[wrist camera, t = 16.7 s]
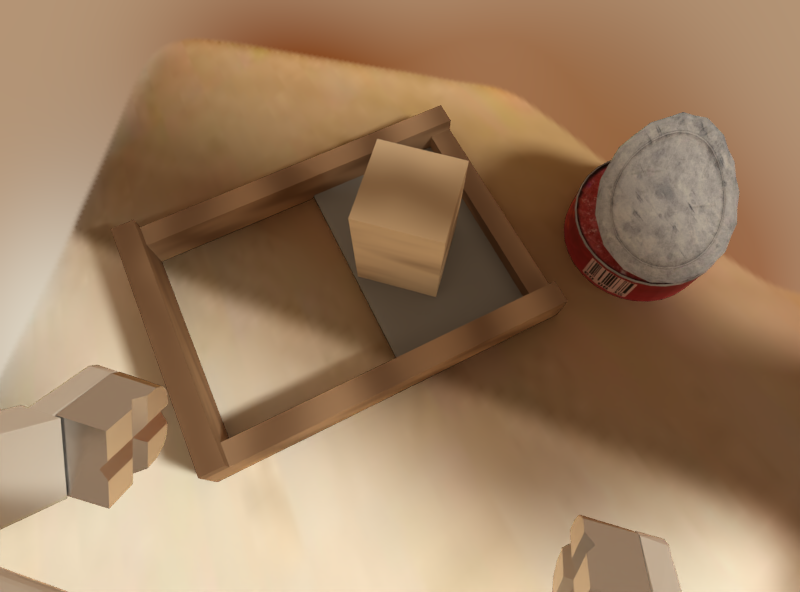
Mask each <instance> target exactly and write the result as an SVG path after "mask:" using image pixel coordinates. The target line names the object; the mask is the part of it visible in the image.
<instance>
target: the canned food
mask: <svg viewBox="0 0 800 592" xmlns="http://www.w3.org/2000/svg"><path fill="white" fill-rule="evenodd" d="M738 198H739V188H738V184H737V180H736V173H735V163H734V160H733V158H732V156H731V154H730V152H729V150H728V148H727V144H726V141H725V137H724V135H723V134H722V133H721V132H720V131H719V129H718V128H717V127H716V126H715V125H714V124H713V123H712V122H711V121H710V120H709V119H708V118H705V117H700V116H694V115H691V114H687V113H684V112H682V113H679V114H676V115H673V116H670V117H667V118H664V119H661V120H658V121H654V122H651V123H650V124H648V125H647V126H646V127H644V128H643V129H642V130H640V131H639V132H638V133H636V134H635V135H634V136H632V137H631V138H630V139H629V140H628V141H626V142H625V143H624V144H623V145H622V146H620V147H619V148H618V150H617V152H616V153H615V155H614V157H613V158H612V160H610V161H608V162H606V163H604V164H602V165H601V166H599V167H597V168H596V169H595V170H594V171H593V172H591V173H590V174H589V175H588V176H587V178H586V179H585V180H584V182H583V183H582V185H581V187H580V189H579V191H578V193H577V195H576V196H575V198H574V200H573V202H572V204H571V205H570V207H569V210H568V212H567V215H566V218H565V224H564V237H565V243H566V246H567V250H568V253H569V255H570V257H571V259H572V261H573V263H574V264H575V266H576V267H577V268H578V269H579V271H580V272H581V273H582V275H583V276H585V277H586V278H587V279H588V280H589V281H590V282H591V283H592V284H594V285H595V286H597V287H598V288H600V289H602V290H603V291H605V292H607V293H609V294H612V295H614V296H616V297H619V298H623V299H627V300H632V301H647V302H648V301H655V300H662V299H665V298H667V297H670V296H673V295H675V294H677V293H678V292H680V291H681V290H683V289H684V288H686V287H687V286H688V285H689V284H691V283H692V282H693V281H694V280H696V279H697V278H698V277H699V276H701V275H702V274H704V273H705V272H706V271H707V270H708V269H709V268H710V267H711V266H712V265H713V264H714V263H715V262H716V260H717V259H718V258H719V257H720V256H721V255H722V254H723V253H725V251H726V249H727V245H728V243H729V240H730V237H731V235H732V233H733V231H734V229H735V226H736V224H737V205H738Z"/></svg>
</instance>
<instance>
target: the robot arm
mask: <svg viewBox="0 0 800 592" xmlns="http://www.w3.org/2000/svg"><path fill="white" fill-rule="evenodd" d="M167 405H168V392H167V390H166V389H165V388H164V387H163V386H160V385H157V384H154V383H151V382H148V381H145V380H142V379H139V378H137V377H134V376H131V375H128V374H125V373H122V372H117V371H114V370H111V369H108V368H105V367H102V366H99V365H92V366H88V367H87V368H85V369H84V370H82V371H81V372H79V373H78V374H76V375H75V376H73V377H72V378H70V379H69V380H68V381H66V382H65V383H63V384H62V385H60V386H59V387H57V388H56V389H54V390H53V391H52V392H50V393H49V394H47V395H46V396H44V397H43V398H41V399H40V400H38V401H37V402H36V403H34V404H33V405H31V406H30V407H25V406H22V405H20V406H16V407H12V408H8V409H4V410H0V529H3V528H5V527H7V526H9V525H11V524H13V523H15V522H18V521H20V520H22V519H24V518H26V517H28V516H30V515H33V514H35V513H37V512H39V511H41V510H43V509H45V508H47V507H50V506H52V505H54V504H56V503H58V502H60V501H62V500H65V499H67V496H70V497H73V498H76V499H80V500H83V501H86V502H89V503H93V504H96V505H99V506H102V507H106V508H110V507H111V506H112V505H113V504H114V503H115V502H116V501H117V500H118V499H119V498H120V497H121V496H122V495H123V494H124V493H125V492H126V491H127V490H128V488H129V487H130V486H131V485H132V484H133V473H136V472H139V471H141V470H144V469H147V468H148V467H149V466H150V465H151V464H152V463H153V462H154V461H155V459H156V458H157V457H158V455H159V453H160V451H161V449H162V447H163V446H164V443H165V439H166V435H167V424H168V423H167V421H166V419H165V418H164V416H163V414H162V413H161V411H162V410H163V409H164V408H165V407H166V406H167ZM570 538H571V543H570V544H568V545H566V546H564V547H562V549H561V552H560V554H559V557H558V559H557V563H556V567H555V571H554V576H553V587H552V592H682V591H681V587H680V584H679V580H678V577H677V573H676V569H675V566H674V562H673V559H672V555H671V552H670V548H669V544H668V543H667V542H666V541H665V539H662V538H658V537H655V536H651V535H648V534H644V533H641V532H637V531H635V532H634V531H632V530H629V529H625V528H622V527H619V526H615V525H612V524H609V523H605V522H602V521H599V520H595V519H592V518H589V517H586V516H582V515H578V516H577V518H576V519H575V520H574V522H573V524H572V527H571V529H570ZM0 592H68V591H65V590H62V589H59V588H57V587H54V586H51V585H48V584H46V583H43V582H40V581H37V580H35V579H32V578H29V577H26V576H24V575H21V574H18V573H15V572H13V571H10V570H7V569H4V568H2V567H0Z"/></svg>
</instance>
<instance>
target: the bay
mask: <svg viewBox="0 0 800 592" xmlns="http://www.w3.org/2000/svg"><path fill="white" fill-rule="evenodd" d="M450 121H451V120H450V119H449V117H448V116H447V114H446V113H445V111H444V110H443V108H442V106H441V105H440V106H438V107H435V108H433V109H430V110H428V111H425V112H423V113H420V114H418V115H416V116H413V117H411V118H408V119H406V120H403V121H401V122H398V123H396V124H393V125H391V126H388V127H386V128H383V129H381V130H379V131H376V132H374V133H371V134H369V135H366V136H364V137H361V138H359V139H356V140H354V141H351V142H349V143H346V144H344V145H342V146H339V147H337V148H334V149H332V150H329V151H327V152H324V153H322V154H319V155H317V156H314V157H312V158H309V159H307V160H305V161H302V162H300V163H297V164H295V165H292V166H290V167H287V168H285V169H282V170H280V171H277V172H275V173H273V174H270V175H268V176H265V177H263V178H260V179H258V180H255V181H253V182H250V183H248V184H245V185H243V186H240V187H238V188H236V189H233V190H231V191H228V192H226V193H223V194H221V195H218V196H216V197H213V198H211V199H208V200H206V201H203V202H201V203H199V204H196V205H194V206H191V207H189V208H186V209H184V210H181V211H179V212H176V213H174V214H171V215H169V216H166V217H164V218H162V219H159V220H157V221H154V222H152V223H149V224H147V225H144V226H142V227H140V226H139V225H138V224H137V223H136V222H135V221H134V220H132V221H129V222H127V223H124V224H122V225H119V226H117V227H114V228H112V229H111V231H112V234H113V237H114V240H115V242H116V245H117V248H118V251H119V254H120V257H121V260H122V262H123V265H124V268H125V271H126V274H127V277H128V279H129V282H130V285H131V288H132V291H133V294H134V297H135V299H136V302H137V305H138V308H139V311H140V314H141V316H142V319H143V322H144V325H145V328H146V331H147V334H148V336H149V339H150V342H151V345H152V348H153V351H154V353H155V356H156V359H157V362H158V365H159V368H160V371H161V373H162V376H163V379H164V382H165V385H166V388H167V390H168V393H169V396H170V399H171V402H172V405H173V408H174V410H175V413H176V416H177V419H178V422H179V425H180V427H181V430H182V433H183V436H184V439H185V442H186V444H187V447H188V450H189V453H190V456H191V459H192V462H193V464H194V467H195V470H196V473H197V476H198V478H200V479H205V480H210V481H215V482H219V481H221V480H223V479H225V478H227V477H229V476H231V475H233V474H235V473H237V472H239V471H241V470H243V469H245V468H247V467H249V466H251V465H253V464H255V463H257V462H259V461H261V460H263V459H265V458H267V457H269V456H271V455H273V454H275V453H277V452H279V451H281V450H283V449H285V448H287V447H289V446H291V445H294V444H296V443H298V442H300V441H302V440H304V439H306V438H308V437H310V436H312V435H314V434H316V433H318V432H320V431H322V430H324V429H326V428H328V427H330V426H332V425H334V424H336V423H338V422H340V421H342V420H344V419H346V418H348V417H350V416H352V415H354V414H356V413H358V412H360V411H362V410H364V409H366V408H368V407H370V406H372V405H374V404H377V403H379V402H381V401H383V400H385V399H387V398H389V397H391V396H393V395H395V394H397V393H399V392H401V391H403V390H405V389H407V388H409V387H411V386H413V385H415V384H417V383H419V382H421V381H423V380H425V379H427V378H429V377H431V376H433V375H435V374H437V373H439V372H441V371H443V370H445V369H447V368H449V367H451V366H453V365H455V364H458V363H460V362H462V361H464V360H466V359H468V358H470V357H472V356H474V355H476V354H478V353H480V352H482V351H484V350H486V349H488V348H490V347H492V346H494V345H496V344H498V343H500V342H502V341H504V340H506V339H508V338H510V337H512V336H514V335H516V334H518V333H520V332H522V331H524V330H526V329H528V328H530V327H532V326H534V325H536V324H538V323H541V322H543V321H545V320H547V319H549V318H551V317H553V316H555V315H557V314H558V313H559V311H560V310H561V309H562V307H563V306H564V305H565V304H566V302H567V299H566V298H565V296H564V295H563V293H562V292H561V290H560V288H559V287H558V285H557V284H556V282H555V281H554V282H552V283H550V284H549V283H548V282H547V280H546V279H545V277H544V276H543V274H542V273H541V271H540V269H539V268H538V266H537V265H536V263H535V262H534V260H533V259H532V257H531V255H530V254H529V252H528V251H527V249H526V248H525V246H524V245H523V243H522V241H521V240H520V238H519V237H518V235H517V234H516V232H515V231H514V229H513V227H512V226H511V224H510V223H509V221H508V220H507V218H506V217H505V215H504V213H503V212H502V210H501V209H500V207H499V206H498V204H497V203H496V201H495V199H494V198H493V196H492V195H491V193H490V192H489V190H488V189H487V187H486V185H485V184H484V182H483V181H482V179H481V178H480V176H479V175H478V173H477V171H476V170H475V168H474V167H473V165H472V164H471V162H470V161H469V159H468V157H467V156H466V154H465V153H464V151H463V150H462V148H461V147H460V145H459V143H458V142H457V140H456V139H455V137H454V136H453V134H452V133H451V131H450V129H449V128H450ZM377 139H380V140H384V141H389V142H393V143H397V144H401V145H405V146H409V147H413V148H418V149H422V150H426V151H430V152H434V153H438V154H442V155H446V156H451V157H455V158H459V159H463V160H467V161H469V163H468V168H467V173H466V178H465V183H464V188H463V193H462V198H461V203H460V208H459V213H458V218H457V223H456V228H455V232H454V235H453V239H452V242H451V246H450V249H449V253H448V256H447V260H446V263H445V267H444V270H443V274H442V278H441V281H440V285H439V288H438V292H437V295H436V297H433V296H430V295H426V294H422V293H418V292H415V291H411V290H407V289H403V288H400V287H396V286H392V285H388V284H385V283H381V282H377V281H373V280H370V279H366V278H362V277H359V276H358V274H357V268H356V262H355V256H354V250H353V244H352V238H351V232H350V226H349V220H348V218H349V215H350V212H351V209H352V207H353V204H354V201H355V199H356V196H357V193H358V190H359V188H360V185H361V182H362V179H363V177H364V174H365V171H366V168H367V166H368V163H369V160H370V157H371V155H372V152H373V149H374V146H375V144H376V141H377ZM313 198H315V200H316V202H317V204H318V206H319V208H320V210H321V212H322V214H323V216H324V218H325V219H326V221H327V223H328V225H329V227H330V229H331V231H332V233H333V235H334V237H335V239H336V241H337V243H338V245H339V247H340V249H341V251H342V253H343V255H344V257H345V259H346V261H347V263H348V265H349V266H350V268H351V270H352V272H353V274H354V276H355V278H356V280H357V282H358V284H359V286H360V288H361V290H362V292H363V294H364V296H365V298H366V300H367V302H368V304H369V306H370V308H371V310H372V312H373V314H374V315H375V317H376V319H377V321H378V323H379V325H380V327H381V329H382V331H383V333H384V335H385V337H386V339H387V341H388V343H389V345H390V347H391V349H392V351H393V353H394V355H395V357H396V358H395V359H393V360H390V361H388V362H386V363H384V364H382V365H380V366H378V367H376V368H374V369H372V370H370V371H368V372H366V373H364V374H361V375H359V376H357V377H355V378H353V379H351V380H349V381H347V382H345V383H343V384H341V385H339V386H337V387H334V388H332V389H330V390H328V391H326V392H324V393H322V394H320V395H318V396H316V397H314V398H312V399H310V400H308V401H305V402H303V403H301V404H299V405H297V406H295V407H293V408H291V409H289V410H287V411H285V412H283V413H281V414H278V415H276V416H274V417H272V418H270V419H268V420H266V421H264V422H262V423H260V424H258V425H256V426H254V427H252V428H249V429H247V430H245V431H243V432H241V433H239V434H237V435H235V436H233V437H231V438H229V437H228V435H227V432H226V429H225V427H224V424H223V422H222V419H221V416H220V414H219V411H218V408H217V406H216V403H215V400H214V398H213V395H212V393H211V390H210V387H209V385H208V382H207V379H206V377H205V374H204V371H203V369H202V366H201V364H200V361H199V358H198V356H197V353H196V350H195V348H194V345H193V342H192V340H191V337H190V335H189V332H188V329H187V327H186V324H185V321H184V319H183V316H182V313H181V311H180V308H179V306H178V303H177V300H176V298H175V295H174V292H173V290H172V287H171V284H170V282H169V279H168V277H167V274H166V271H165V269H164V266H163V263H162V261H165V260H167V259H169V258H172V257H174V256H176V255H179V254H181V253H184V252H186V251H188V250H191V249H193V248H196V247H198V246H200V245H203V244H205V243H208V242H210V241H212V240H215V239H217V238H219V237H222V236H224V235H227V234H229V233H231V232H234V231H236V230H239V229H241V228H243V227H246V226H248V225H250V224H253V223H255V222H258V221H260V220H262V219H265V218H267V217H270V216H272V215H274V214H277V213H279V212H282V211H284V210H286V209H289V208H291V207H293V206H296V205H298V204H301V203H303V202H305V201H308V200H310V199H313Z"/></svg>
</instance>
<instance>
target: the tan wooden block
mask: <svg viewBox="0 0 800 592" xmlns="http://www.w3.org/2000/svg"><path fill="white" fill-rule="evenodd" d="M468 163H469V161H467V160H463V159H459V158H455V157H451V156H446V155H442V154H438V153H434V152H430V151H426V150H422V149H418V148H413V147H409V146H405V145H401V144H397V143H393V142H389V141H384V140H380V139H377V141H376V144H375V146H374V149H373V152H372V155H371V157H370V160H369V163H368V166H367V168H366V171H365V174H364V177H363V179H362V182H361V185H360V188H359V190H358V193H357V196H356V199H355V201H354V204H353V207H352V209H351V212H350V215H349V218H348V220H349V226H350V232H351V238H352V244H353V250H354V256H355V262H356V268H357V274H358V276H359V277H362V278H366V279H370V280H373V281H377V282H381V283H385V284H388V285H392V286H396V287H400V288H403V289H407V290H411V291H415V292H418V293H422V294H426V295H430V296H433V297H436V295H437V292H438V288H439V285H440V281H441V278H442V274H443V270H444V267H445V263H446V260H447V256H448V253H449V249H450V246H451V242H452V239H453V235H454V232H455V228H456V223H457V218H458V213H459V208H460V203H461V198H462V193H463V188H464V183H465V178H466V173H467V168H468Z"/></svg>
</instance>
